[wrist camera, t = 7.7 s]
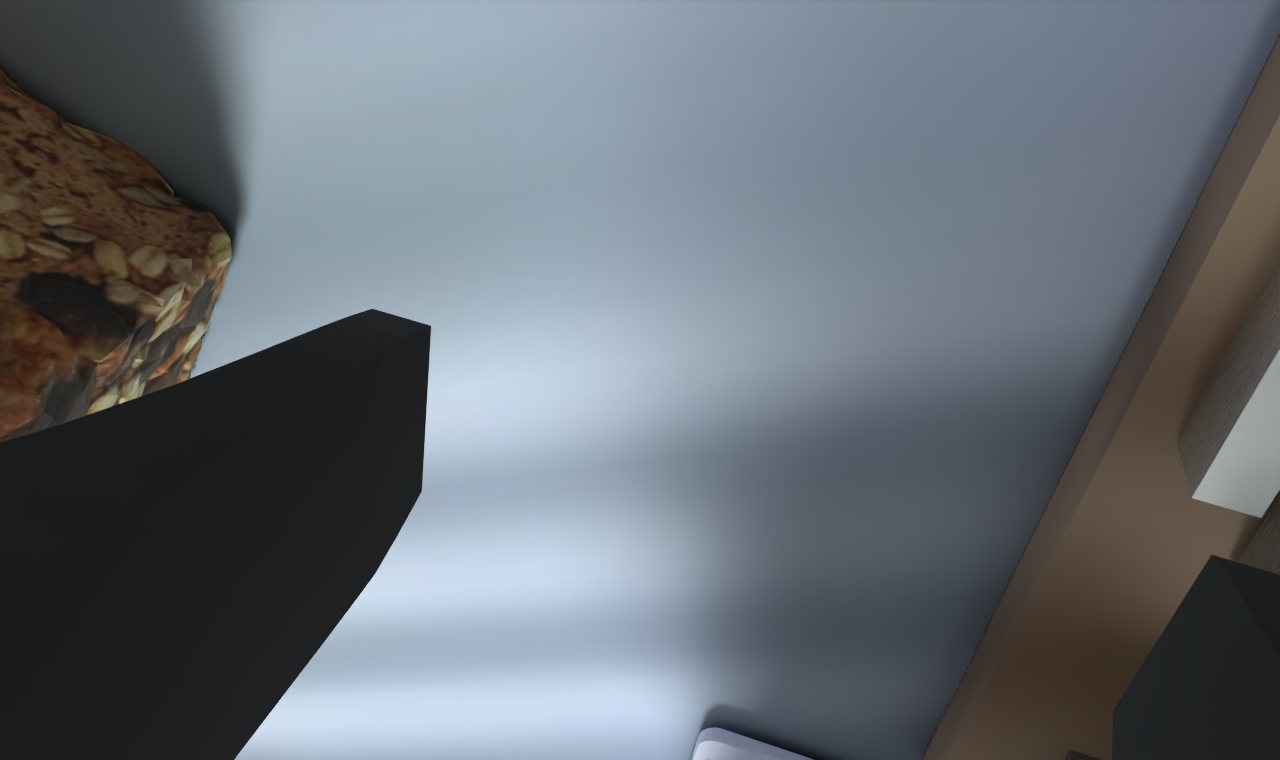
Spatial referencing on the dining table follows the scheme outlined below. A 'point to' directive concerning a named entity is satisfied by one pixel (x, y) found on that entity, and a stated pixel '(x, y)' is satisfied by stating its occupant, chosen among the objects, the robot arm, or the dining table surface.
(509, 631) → the dining table surface
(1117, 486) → the press base
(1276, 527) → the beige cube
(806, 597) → the dining table surface
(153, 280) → the bread
